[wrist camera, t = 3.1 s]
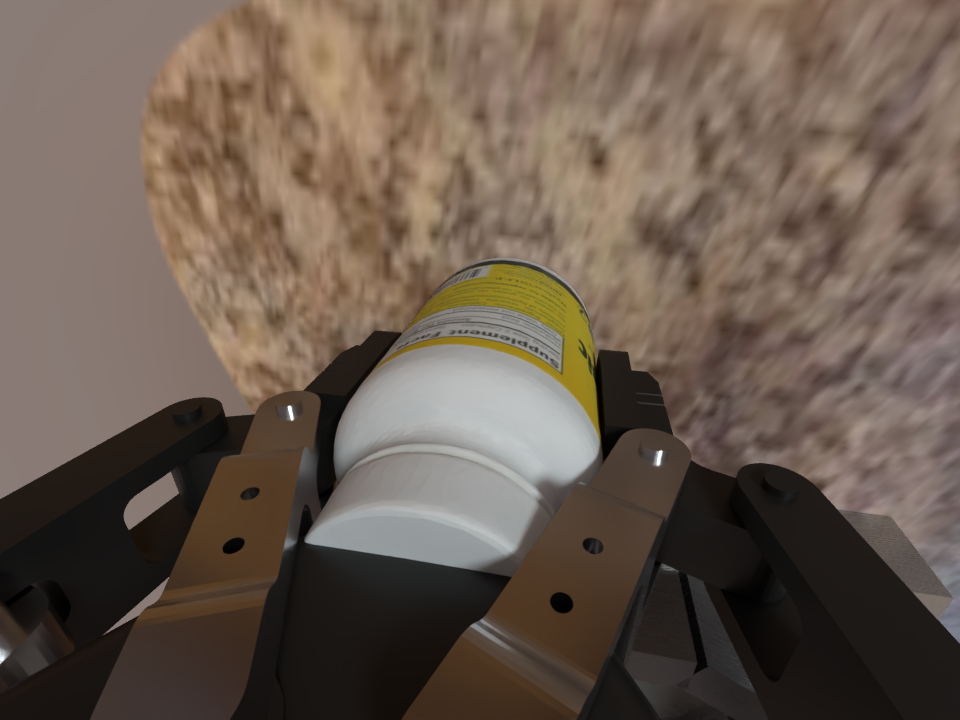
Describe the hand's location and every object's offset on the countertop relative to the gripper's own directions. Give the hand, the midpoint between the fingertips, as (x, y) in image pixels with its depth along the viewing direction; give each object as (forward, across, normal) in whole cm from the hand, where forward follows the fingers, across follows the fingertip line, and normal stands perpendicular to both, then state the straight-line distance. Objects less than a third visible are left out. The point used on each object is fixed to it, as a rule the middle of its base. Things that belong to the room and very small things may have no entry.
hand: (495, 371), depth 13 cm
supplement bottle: (+3, 0, 0) cm, 3 cm away
